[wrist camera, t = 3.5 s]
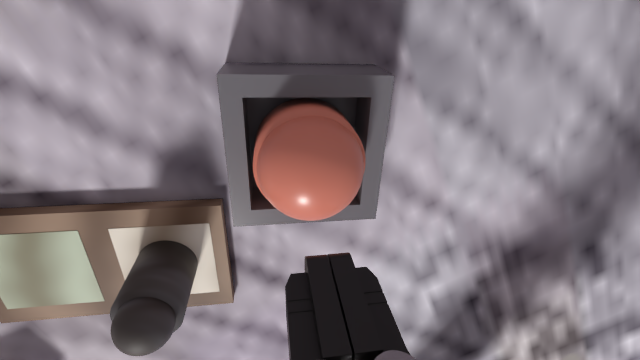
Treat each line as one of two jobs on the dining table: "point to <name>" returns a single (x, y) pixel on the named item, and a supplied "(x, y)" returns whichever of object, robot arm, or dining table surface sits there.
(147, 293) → the pawn
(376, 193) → the dome collar
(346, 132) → the dome
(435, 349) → the dining table surface
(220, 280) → the board
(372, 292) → the robot arm
